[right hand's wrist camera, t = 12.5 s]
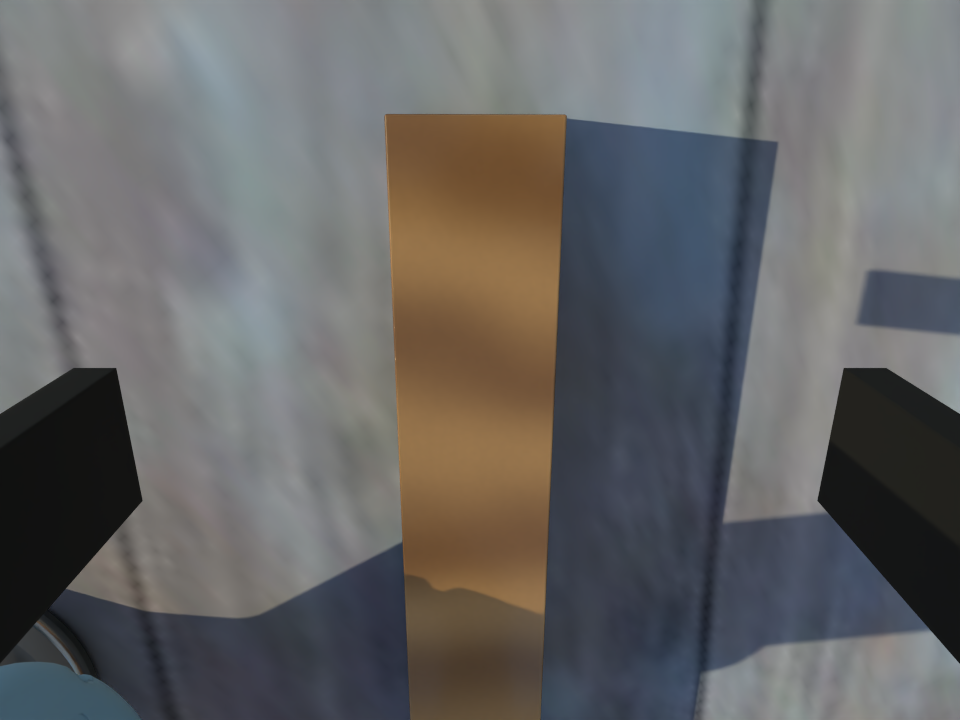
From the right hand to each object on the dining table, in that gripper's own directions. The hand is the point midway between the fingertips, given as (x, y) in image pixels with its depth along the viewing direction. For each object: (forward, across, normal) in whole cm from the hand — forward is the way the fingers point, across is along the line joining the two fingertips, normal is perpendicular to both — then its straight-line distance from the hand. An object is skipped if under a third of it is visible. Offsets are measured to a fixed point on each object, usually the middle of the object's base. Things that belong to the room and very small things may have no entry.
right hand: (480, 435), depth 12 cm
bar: (+20, 0, -25) cm, 32 cm away
